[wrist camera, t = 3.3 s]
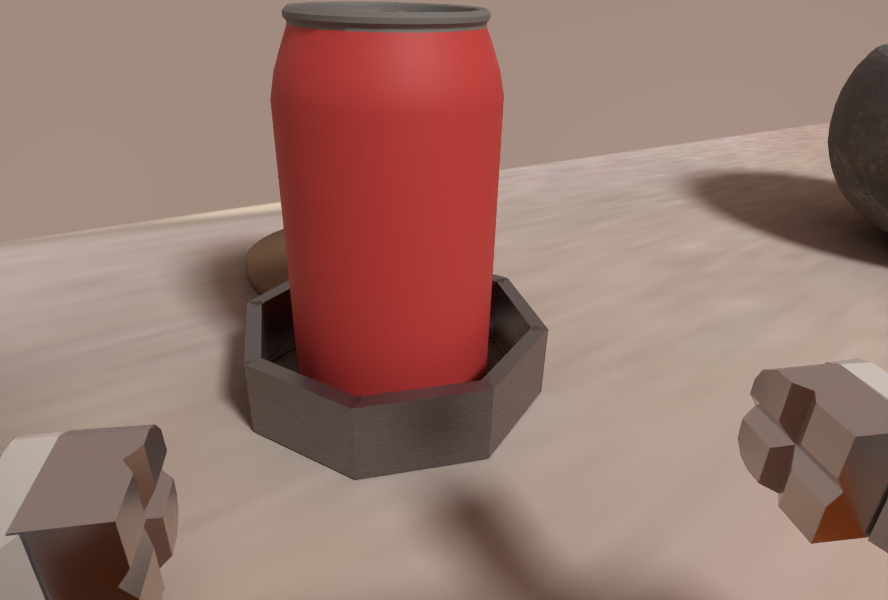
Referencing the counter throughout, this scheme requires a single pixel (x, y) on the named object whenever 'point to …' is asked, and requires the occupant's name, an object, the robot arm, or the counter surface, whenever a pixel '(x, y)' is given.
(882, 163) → the bowl
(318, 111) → the beer can
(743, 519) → the counter surface
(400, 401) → the can collar
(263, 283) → the walnut coaster
